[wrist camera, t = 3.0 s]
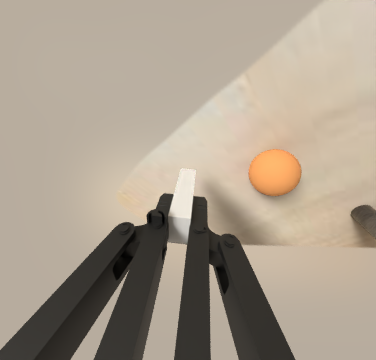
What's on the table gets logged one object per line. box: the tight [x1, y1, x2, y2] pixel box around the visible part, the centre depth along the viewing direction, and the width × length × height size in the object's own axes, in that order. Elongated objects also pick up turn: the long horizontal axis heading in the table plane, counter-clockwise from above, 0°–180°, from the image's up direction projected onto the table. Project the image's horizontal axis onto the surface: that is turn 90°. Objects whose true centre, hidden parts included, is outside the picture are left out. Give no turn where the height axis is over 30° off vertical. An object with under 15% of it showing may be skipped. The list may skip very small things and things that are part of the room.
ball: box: [249, 149, 301, 196], centre depth 19 cm, size 6×6×6 cm
